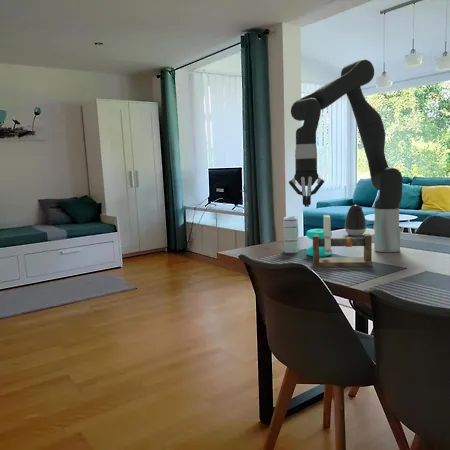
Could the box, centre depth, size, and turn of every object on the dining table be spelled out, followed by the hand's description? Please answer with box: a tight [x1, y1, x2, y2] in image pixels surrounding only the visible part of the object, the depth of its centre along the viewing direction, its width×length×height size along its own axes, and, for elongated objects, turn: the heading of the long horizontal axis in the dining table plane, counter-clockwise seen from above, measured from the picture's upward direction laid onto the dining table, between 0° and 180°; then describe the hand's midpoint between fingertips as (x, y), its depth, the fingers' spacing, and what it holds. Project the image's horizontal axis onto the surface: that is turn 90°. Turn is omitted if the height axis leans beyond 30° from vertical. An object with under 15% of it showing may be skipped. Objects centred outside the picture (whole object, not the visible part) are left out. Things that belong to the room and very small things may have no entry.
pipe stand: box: [312, 233, 374, 268], centre depth 155 cm, size 20×8×10 cm, turn 81°
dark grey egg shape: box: [344, 204, 367, 237], centre depth 212 cm, size 10×10×15 cm
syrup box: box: [282, 216, 300, 254], centre depth 180 cm, size 6×6×14 cm
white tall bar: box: [323, 214, 332, 255], centre depth 155 cm, size 2×7×13 cm, turn 171°
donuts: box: [305, 228, 333, 258], centre depth 172 cm, size 10×10×10 cm
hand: (306, 206), depth 155 cm, fingers closed
